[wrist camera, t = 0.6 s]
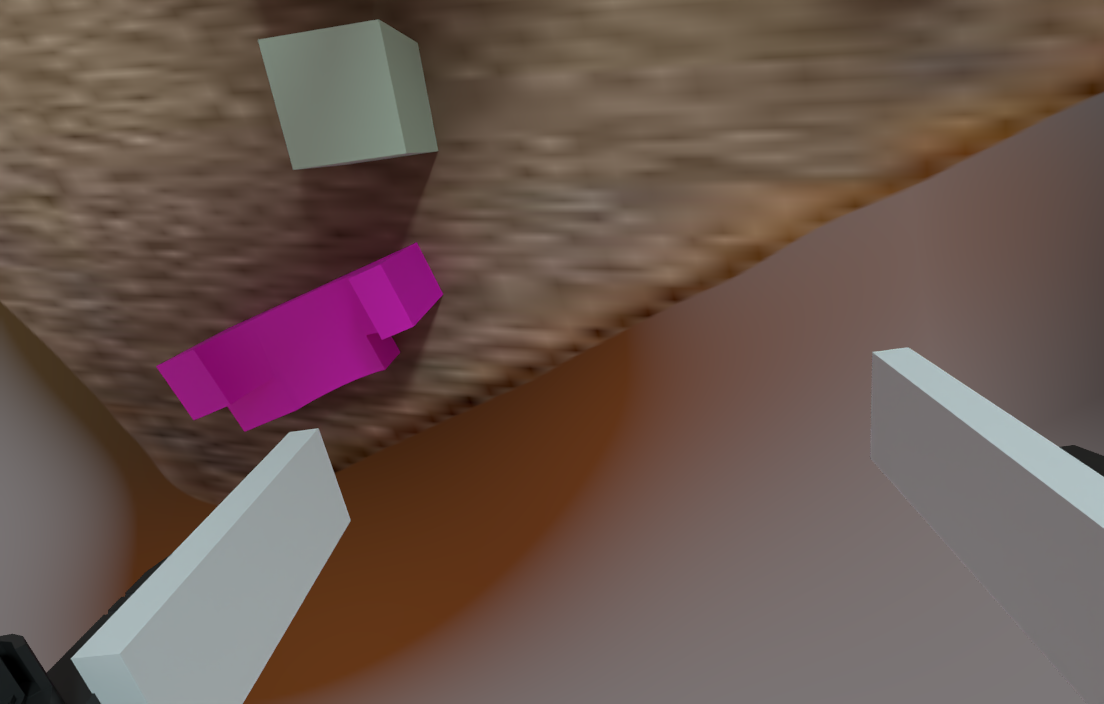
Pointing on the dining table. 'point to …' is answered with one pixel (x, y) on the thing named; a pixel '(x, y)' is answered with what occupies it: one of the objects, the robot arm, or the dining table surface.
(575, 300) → the dining table surface
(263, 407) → the toy block
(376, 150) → the sage block
